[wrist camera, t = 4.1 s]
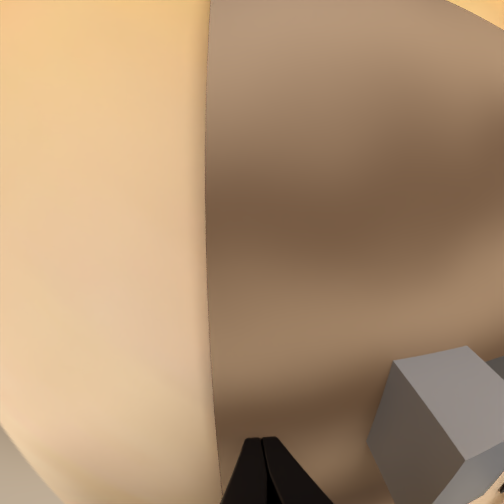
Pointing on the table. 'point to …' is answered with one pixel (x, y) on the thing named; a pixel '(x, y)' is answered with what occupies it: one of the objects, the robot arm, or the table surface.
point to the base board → (346, 216)
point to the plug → (440, 427)
